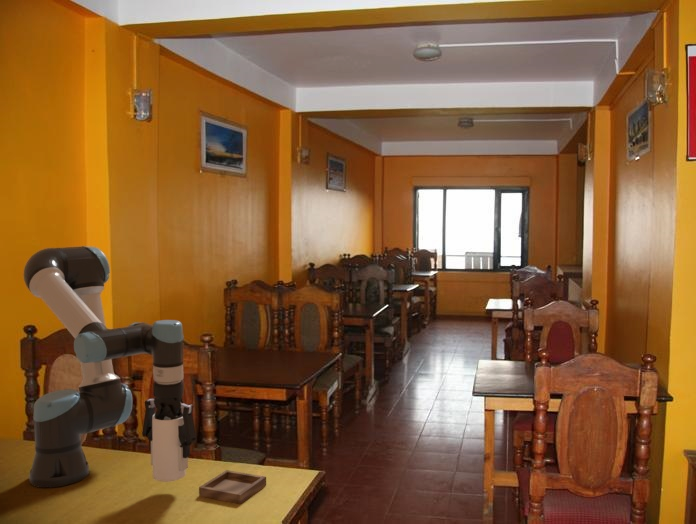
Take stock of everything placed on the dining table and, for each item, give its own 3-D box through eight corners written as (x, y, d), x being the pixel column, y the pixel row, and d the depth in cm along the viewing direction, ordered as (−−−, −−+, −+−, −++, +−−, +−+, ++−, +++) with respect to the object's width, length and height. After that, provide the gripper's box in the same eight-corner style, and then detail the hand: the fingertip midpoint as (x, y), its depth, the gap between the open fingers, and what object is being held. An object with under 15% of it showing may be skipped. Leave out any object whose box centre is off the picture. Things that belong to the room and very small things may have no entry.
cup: (146, 477, 169) (145, 417, 167) (168, 466, 176) (168, 408, 175) (170, 484, 165) (169, 422, 164) (192, 472, 172) (191, 413, 171)
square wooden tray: (199, 496, 168) (199, 487, 168) (226, 478, 180) (226, 470, 180) (240, 503, 163) (240, 494, 163) (266, 485, 175) (266, 476, 175)
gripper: (126, 379, 169) (127, 464, 171) (193, 389, 161) (193, 478, 163) (145, 372, 176) (147, 455, 178) (211, 382, 168) (211, 468, 169)
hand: (169, 466), depth 170 cm, fingers closed on cup, 8 cm apart
